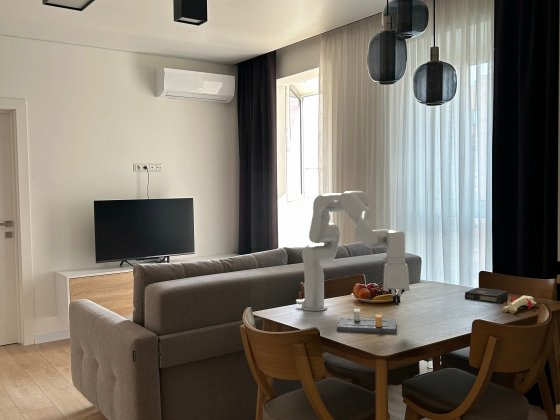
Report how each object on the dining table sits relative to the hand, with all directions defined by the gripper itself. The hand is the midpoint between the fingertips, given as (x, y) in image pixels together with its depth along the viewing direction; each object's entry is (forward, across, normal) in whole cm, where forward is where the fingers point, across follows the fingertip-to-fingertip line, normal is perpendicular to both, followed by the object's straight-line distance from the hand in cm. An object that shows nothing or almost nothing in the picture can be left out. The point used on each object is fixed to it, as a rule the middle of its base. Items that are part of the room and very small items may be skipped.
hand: (396, 304), depth 231 cm
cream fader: (+9, -17, +9) cm, 21 cm away
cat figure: (+12, +58, +51) cm, 78 cm away
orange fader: (+9, -7, 0) cm, 12 cm away
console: (+11, -12, +5) cm, 17 cm away
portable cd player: (+12, +46, +73) cm, 87 cm away
